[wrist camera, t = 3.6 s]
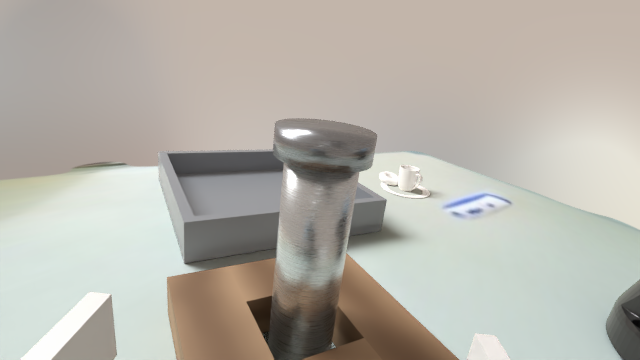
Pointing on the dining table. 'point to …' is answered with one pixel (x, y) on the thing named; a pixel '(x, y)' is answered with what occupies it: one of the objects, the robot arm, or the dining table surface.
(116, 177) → the dining table surface
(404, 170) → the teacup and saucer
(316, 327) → the lock pin
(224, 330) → the socket block
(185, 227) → the tray
